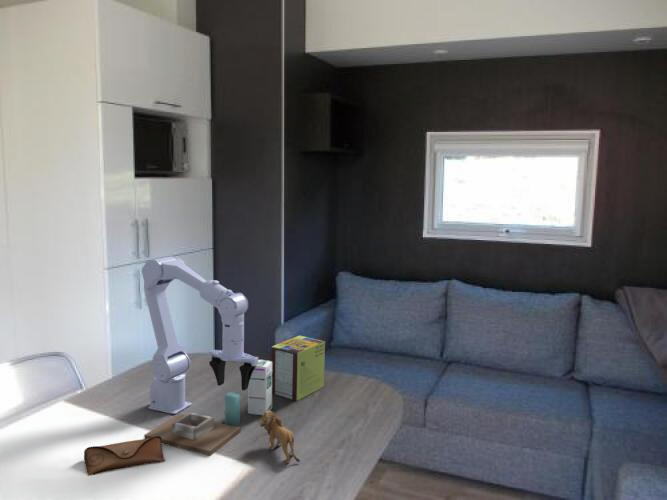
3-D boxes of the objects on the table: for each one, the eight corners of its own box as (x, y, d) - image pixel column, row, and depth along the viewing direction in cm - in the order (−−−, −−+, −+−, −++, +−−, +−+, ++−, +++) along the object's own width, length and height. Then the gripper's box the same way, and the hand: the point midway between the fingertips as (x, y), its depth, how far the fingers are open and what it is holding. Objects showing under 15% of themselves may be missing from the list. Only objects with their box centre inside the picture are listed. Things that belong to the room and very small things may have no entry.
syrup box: (266, 416, 161) (267, 367, 159) (246, 413, 162) (247, 365, 160) (272, 408, 166) (273, 360, 164) (253, 405, 168) (254, 358, 166)
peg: (222, 424, 155) (222, 396, 154) (230, 418, 159) (230, 391, 158) (234, 426, 154) (234, 398, 152) (242, 421, 157) (242, 393, 156)
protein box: (324, 386, 184) (325, 340, 182) (296, 402, 171) (297, 352, 169) (298, 379, 190) (299, 334, 188) (269, 394, 177) (270, 346, 175)
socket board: (144, 439, 145) (144, 423, 145) (178, 417, 158) (178, 403, 157) (210, 455, 138) (210, 439, 137) (240, 432, 151) (240, 417, 150)
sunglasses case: (85, 477, 127) (84, 446, 129) (84, 478, 132) (83, 449, 135) (167, 461, 135) (165, 432, 137) (163, 463, 140) (161, 435, 143)
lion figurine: (255, 444, 144) (255, 411, 143) (271, 438, 148) (272, 405, 146) (291, 467, 133) (292, 431, 132) (308, 460, 137) (309, 425, 136)
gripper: (201, 338, 152) (201, 387, 154) (249, 346, 146) (248, 396, 148) (216, 332, 158) (216, 378, 160) (262, 339, 153) (261, 387, 155)
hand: (232, 386), depth 155 cm, fingers open, 7 cm apart
